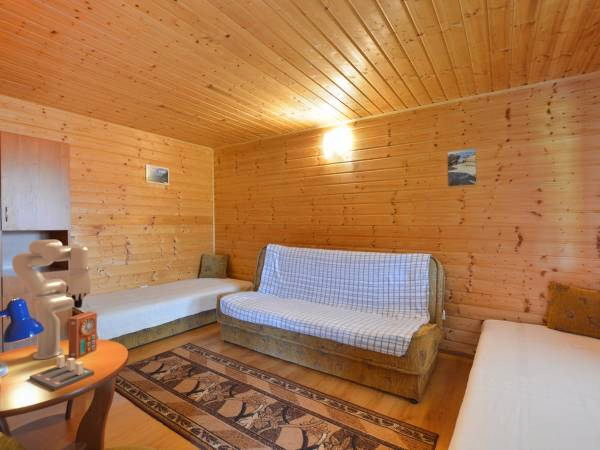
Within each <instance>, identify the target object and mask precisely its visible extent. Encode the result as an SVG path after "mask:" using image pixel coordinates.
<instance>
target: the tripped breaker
mask: <svg viewBox="0 0 600 450" xmlns="http://www.w3.org/2000/svg"><path fill="white" fill-rule="evenodd" d="M66 363H67V370H69V371H72V370H75V363H76V359H74V358H69V357H68V358H66Z"/></svg>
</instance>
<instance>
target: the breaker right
mask: <svg viewBox="0 0 600 450" xmlns="http://www.w3.org/2000/svg"><path fill="white" fill-rule="evenodd" d="M83 367H84V362H83V361H81V360H79V361H75V374H77V375H81V374H83Z"/></svg>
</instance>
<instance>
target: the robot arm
mask: <svg viewBox="0 0 600 450" xmlns="http://www.w3.org/2000/svg"><path fill="white" fill-rule="evenodd" d="M28 250H29V252H22V253H19V254H16V255H15V256H13V258H12V259H11V261H12V262H11V264H12V270H13V271H14V273H15V275H16V276H17V277H19V279H20V280H21V281H22V282H23V283H24V286H26V288H27V291H28V292H29V294H30V295H31V297H33V298H34V299H37V300H36V301H35V303H34V310H35V315H36V322H37V321H39V322H40V323H41V324H42V326H43V327H44V331H43V332H42V333H41V334H39V335H37V334H36V347H35V348H36V352H35V353H33V355H32V358H33V360H47V359H48V360H49V359H51V358H57V356H60V355H63V353H64V349H63V348H61V346H60V345H61V342H60V341H61V333H60V332H61V321H60V318H59V317H58V315H56V313H59V312H63V311H68V310H71V309H73V307H74V308H76V309H80V308H82V307H83V300H84V298H85V297H86V296H88V295H90V294H91V287H92V285H91V282H92V281H91V276H90V273H89V271H91V267H89V248H88V247H86V246H80V245H76V244H75V245H74V244H73V245H63V243H62V242H61V241H60V240H58V239H37V240H34V241H33V242H31V243H30V244H29V245H28ZM66 261H69V273H68V274H67V275H66V278H65V280H63V279H61V278H52V279H46V278H45V277H44V275H43V274H42V272H40V271H39V270H37V269H34V268H39V267H47V266H48V267H49V266H50V265H52V264H53V263H54V262H66Z"/></svg>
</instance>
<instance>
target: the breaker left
mask: <svg viewBox="0 0 600 450" xmlns="http://www.w3.org/2000/svg"><path fill="white" fill-rule="evenodd" d="M65 363H66V356H65V355H63V354H60V355H58V356H56V366H57V367H58V368H62V367H65Z"/></svg>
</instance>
